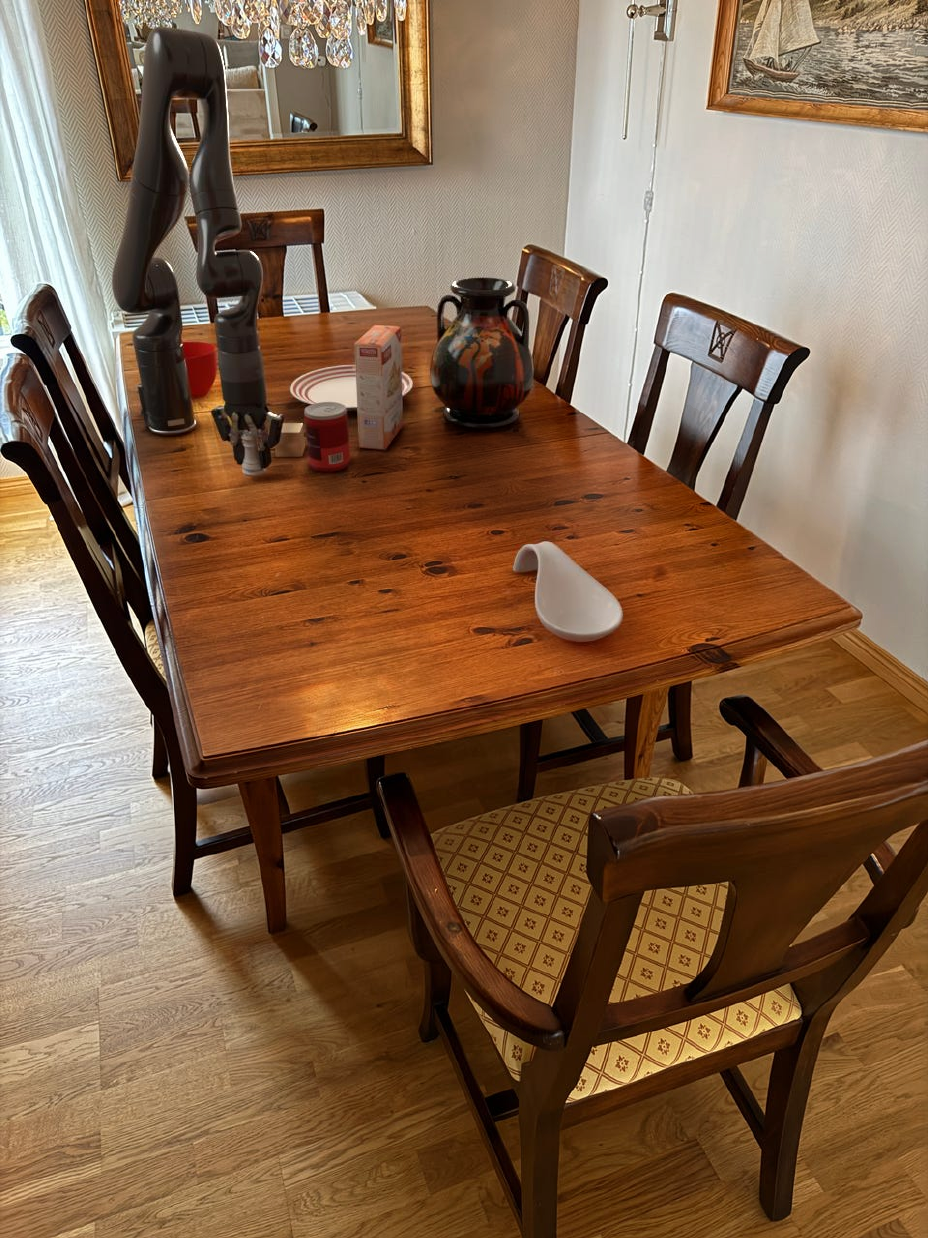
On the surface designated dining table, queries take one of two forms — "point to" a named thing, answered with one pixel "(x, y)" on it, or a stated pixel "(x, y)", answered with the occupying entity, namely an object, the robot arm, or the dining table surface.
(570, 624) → the spoon rest
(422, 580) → the dining table surface
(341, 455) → the canned food
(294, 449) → the maple block
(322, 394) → the dinner plate
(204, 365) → the ceramic cup
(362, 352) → the cracker box
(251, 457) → the rook chess piece
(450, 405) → the amphora vase
